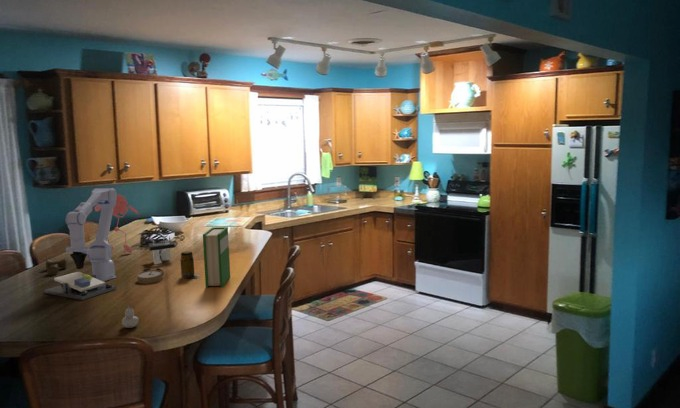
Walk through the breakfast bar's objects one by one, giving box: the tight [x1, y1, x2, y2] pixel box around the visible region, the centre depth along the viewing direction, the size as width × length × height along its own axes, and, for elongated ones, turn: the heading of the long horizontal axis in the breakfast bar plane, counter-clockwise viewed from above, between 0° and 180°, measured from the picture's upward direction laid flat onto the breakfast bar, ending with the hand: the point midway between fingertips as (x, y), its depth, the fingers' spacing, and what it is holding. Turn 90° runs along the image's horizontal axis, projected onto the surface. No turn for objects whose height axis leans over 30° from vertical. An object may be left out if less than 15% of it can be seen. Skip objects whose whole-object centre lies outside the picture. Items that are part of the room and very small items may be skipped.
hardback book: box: [202, 226, 231, 289], centre depth 245 cm, size 18×7×24 cm, turn 0°
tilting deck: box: [53, 271, 106, 292], centre depth 236 cm, size 18×12×3 cm, turn 62°
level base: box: [44, 274, 117, 301], centre depth 236 cm, size 25×17×6 cm
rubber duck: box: [121, 305, 139, 329], centre depth 190 cm, size 5×7×8 cm
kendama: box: [45, 258, 69, 276], centre depth 274 cm, size 6×10×20 cm
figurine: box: [94, 193, 140, 256], centre depth 311 cm, size 15×26×35 cm, turn 89°
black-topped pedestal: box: [147, 236, 176, 265], centre depth 288 cm, size 28×26×13 cm
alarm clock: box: [136, 267, 165, 285], centre depth 253 cm, size 11×5×15 cm
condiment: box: [178, 251, 201, 280], centre depth 256 cm, size 7×8×12 cm
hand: (80, 268), depth 238 cm, fingers closed
